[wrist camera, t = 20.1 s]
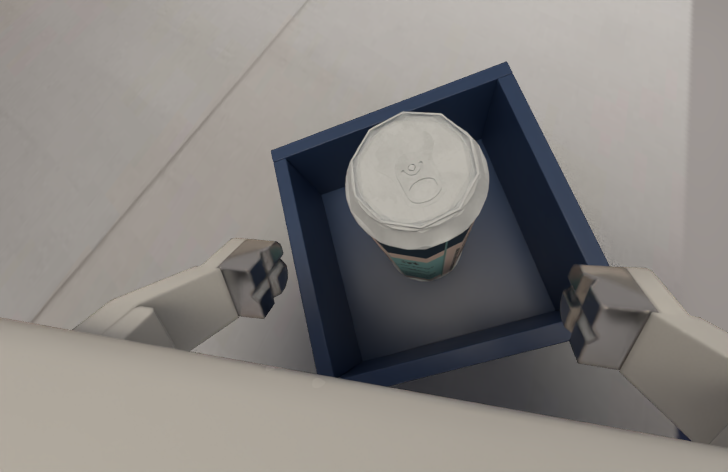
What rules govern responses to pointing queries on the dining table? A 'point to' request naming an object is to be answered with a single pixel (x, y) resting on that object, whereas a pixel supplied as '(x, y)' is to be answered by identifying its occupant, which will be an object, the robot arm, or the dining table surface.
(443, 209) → the coffee can
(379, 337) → the bin
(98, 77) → the dining table surface
